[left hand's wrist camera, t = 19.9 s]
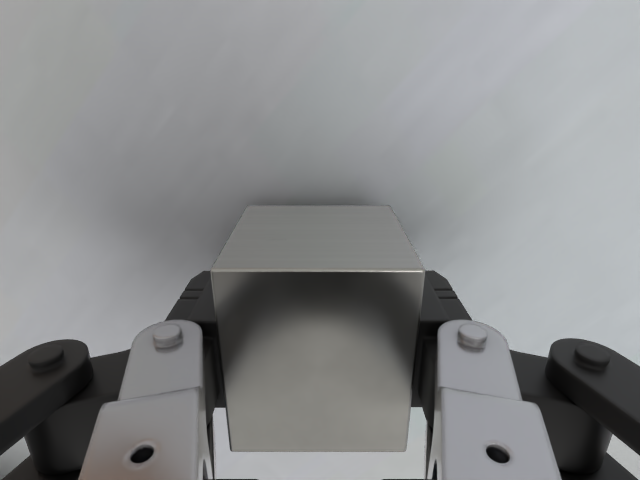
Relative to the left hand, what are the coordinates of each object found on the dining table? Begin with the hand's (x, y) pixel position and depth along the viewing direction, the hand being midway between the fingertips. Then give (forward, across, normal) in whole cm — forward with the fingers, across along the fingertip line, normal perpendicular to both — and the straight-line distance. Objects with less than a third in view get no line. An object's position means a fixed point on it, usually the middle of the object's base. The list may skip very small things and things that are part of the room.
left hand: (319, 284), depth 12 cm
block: (0, 0, 0) cm, 0 cm away
